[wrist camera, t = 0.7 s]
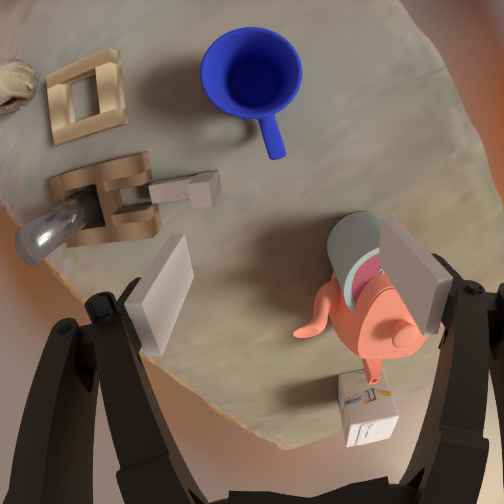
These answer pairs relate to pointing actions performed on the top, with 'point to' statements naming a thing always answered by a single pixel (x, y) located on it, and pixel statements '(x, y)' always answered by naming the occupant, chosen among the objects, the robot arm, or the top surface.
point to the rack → (108, 94)
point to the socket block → (110, 200)
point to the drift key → (188, 189)
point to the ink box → (365, 408)
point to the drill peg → (56, 226)
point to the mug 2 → (355, 253)
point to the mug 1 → (253, 79)
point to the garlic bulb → (16, 84)
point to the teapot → (367, 323)
